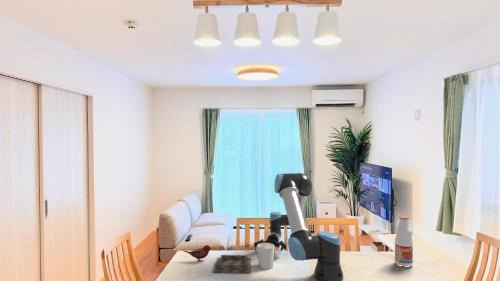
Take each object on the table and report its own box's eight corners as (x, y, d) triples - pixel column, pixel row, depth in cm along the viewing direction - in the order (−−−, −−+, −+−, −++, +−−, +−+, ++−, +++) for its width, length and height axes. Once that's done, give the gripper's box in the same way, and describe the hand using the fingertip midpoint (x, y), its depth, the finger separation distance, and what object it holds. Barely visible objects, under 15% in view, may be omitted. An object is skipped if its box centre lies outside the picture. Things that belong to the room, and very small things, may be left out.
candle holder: (254, 267, 188) (254, 246, 187) (261, 262, 196) (262, 241, 196) (270, 271, 183) (270, 249, 183) (277, 265, 192) (277, 244, 191)
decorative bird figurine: (211, 262, 195) (211, 246, 195) (181, 261, 197) (181, 244, 197) (212, 261, 198) (212, 244, 198) (183, 259, 200) (183, 243, 200)
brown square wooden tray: (250, 259, 200) (250, 253, 200) (249, 273, 180) (249, 267, 180) (218, 259, 201) (218, 253, 201) (213, 272, 181) (213, 266, 181)
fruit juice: (401, 260, 199) (401, 213, 198) (416, 265, 191) (416, 217, 190) (391, 263, 194) (391, 215, 193) (406, 269, 186) (406, 219, 185)
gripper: (292, 246, 215) (288, 258, 195) (254, 243, 221) (247, 255, 200) (292, 235, 215) (288, 245, 195) (254, 232, 221) (247, 242, 200)
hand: (267, 250), depth 197 cm, fingers open, 13 cm apart
